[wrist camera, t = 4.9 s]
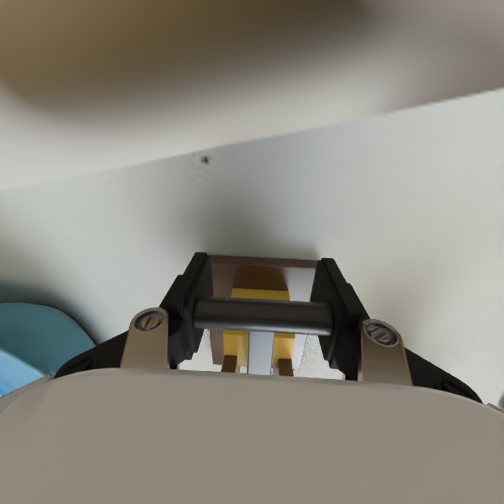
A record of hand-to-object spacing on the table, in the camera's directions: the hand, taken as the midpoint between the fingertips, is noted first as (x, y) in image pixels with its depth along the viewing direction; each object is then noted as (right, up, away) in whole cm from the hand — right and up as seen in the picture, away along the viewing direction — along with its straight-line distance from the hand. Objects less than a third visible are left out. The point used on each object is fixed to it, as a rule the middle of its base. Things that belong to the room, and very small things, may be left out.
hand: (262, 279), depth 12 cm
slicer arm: (0, -5, +1) cm, 5 cm away
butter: (0, -3, +8) cm, 9 cm away
